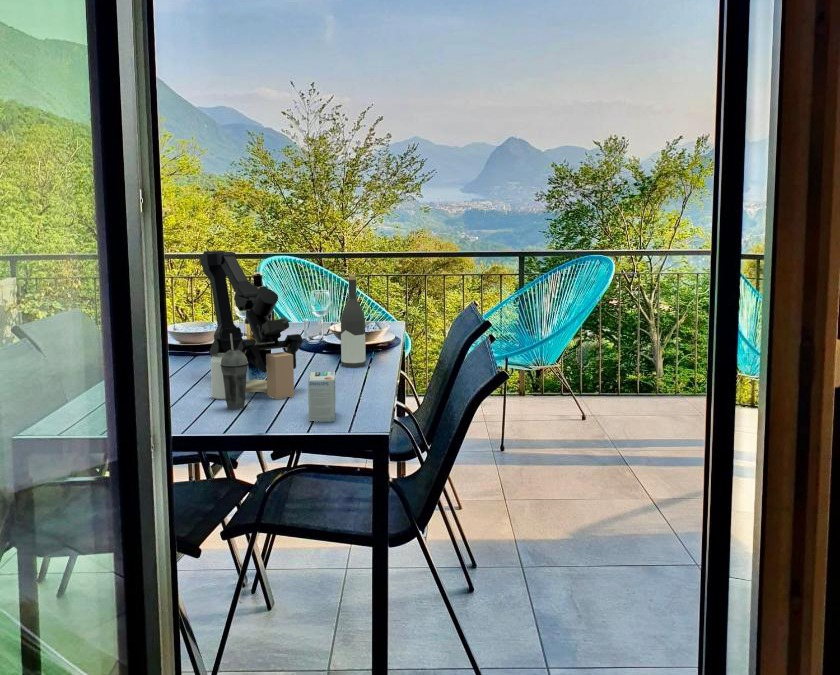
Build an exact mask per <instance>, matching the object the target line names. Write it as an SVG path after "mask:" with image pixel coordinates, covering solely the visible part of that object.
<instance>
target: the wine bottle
mask: <svg viewBox="0 0 840 675" xmlns="http://www.w3.org/2000/svg"><path fill="white" fill-rule="evenodd" d="M356 278H357V276H356V274H349V275H348V299H347V302H346V303H345V306H344V307H343V310H342V314H341V318H340V351H341V352H340V353H341V354H340V357H341V360H340V361H341V362H340V363H341V367H343V366H344V367H343V368H349V369H352V368H353V369H355V368H364V367H365V366H366V361H367V360H366V353H367V352H366V317H365V313H364V311H363V310H364V309H363V308H362V306H361V304H360V303H359V300H358V299H357V279H356Z"/></svg>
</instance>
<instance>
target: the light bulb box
mask: <svg viewBox="0 0 840 675" xmlns="http://www.w3.org/2000/svg"><path fill="white" fill-rule="evenodd" d="M308 378H309V379H308V380H307V381H308V384H307V388H308V393H307V394H308V397H307V398H308V422H309V423H311V422H310V421H314V422H313V423H323V422H324V423H331V422H332V421H334V422H335V420H336V372H335V371H311V372H309V377H308ZM315 421H316V422H315ZM318 421H319V422H318ZM332 423H333V422H332Z"/></svg>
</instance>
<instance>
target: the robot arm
mask: <svg viewBox="0 0 840 675" xmlns="http://www.w3.org/2000/svg"><path fill="white" fill-rule="evenodd" d="M237 257H238V256H237V254H236V253H235V252H234V251H225V250H224V249H223V250H204V252H203V254H201V255H200V258H199V262H200V265H201V267H202V271H203V273H204V275H205V276H206V277H207V279H209V281H210V286H211V292H212V293H211V294H212V299H213V306H214V313H215V318H216V324H217V326H216V328H215V332H214V334H213V340H214V341H213V342H212V344H211V347H210V349H209V354H210V358H212V355H213V354H218V353H226V352H227V351H229V350H232V349H231V339H230V334H232V340H233V350H234V349H236V350H240V351H241V352H243V353H244V354H245V356H246V358H247V361H248V363H250V364H251V365H253V366H255V367H256V368H257V369H258V370H260V371H261V372H263V373H264V374H267V369H266V364H265V363H264V360H263V358H262V356H261V353H260V351H264V350H265V351H269V350H276V349H282V350H283V352H286V353H289V354H292V355H293V369H294V370H295V369H296V368H297V354H296V353H297V352H298V351H299V349H300V347H301V346H302V343H303V341H304V339H303V337H302V335H301V334H299V333H295V334H287V335H286V337H285V339H284V340H279V339H280V338H281V337H282V332H285V331H286V330H287V329H289V328H290V323H289V320H288V319H287V317H286V316H284V317H280V318H279V319H269V316H270V315H272V313H273V311H274V309H275V307H276V305H277V303H278V300H279V295H278V293H276V292H275V291H274V290H272V289H270V288H268V286H267V285H264V286H263V285H262V286H261V285H260V286H259V288H258V286H256V285H254V284H253V283H251V282H250V281H249V279H248V277H247V276H246V274H245V272H244V270H243V269H242V267H241V265H240V263H239V261H238V258H237ZM227 280H228V281H229V284H230V285H231V287H232V288H233V291H234V297H233V300H234V304H235V307H237V309H238V311H239V312H245V311H248V312H247V313H246V315H245V319H244V324H245V325H249V328H250V330H251V332H252V335H251V337H252V338H247V339H243V336H242V330H241V327H239V326H238V327H237V325H235V323H234V320H233V313H232V308H231V306H232V305H231V300H230V294H229V289H228V288H229V287H228V283H227V282H228V281H227Z"/></svg>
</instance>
